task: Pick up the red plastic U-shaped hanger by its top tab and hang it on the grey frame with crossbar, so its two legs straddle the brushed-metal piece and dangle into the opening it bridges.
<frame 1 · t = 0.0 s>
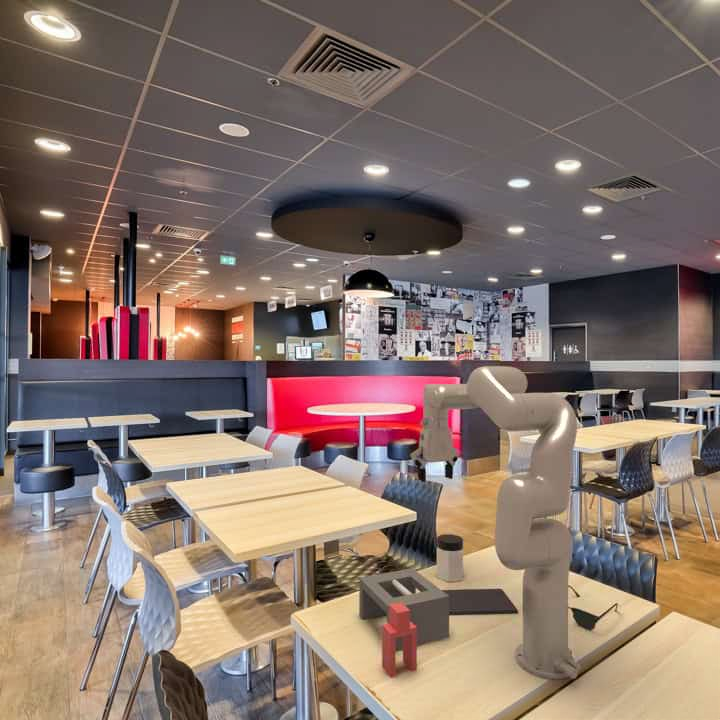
hand: (435, 479, 151), 31 cm above the table, fingers open, 9 cm apart
hanger: (399, 668, 107), on the table
notebook: (472, 605, 136), on the table
sunglasses: (582, 614, 131), on the table
jar: (450, 577, 154), on the table
grey frame with crossbar: (402, 626, 124), on the table
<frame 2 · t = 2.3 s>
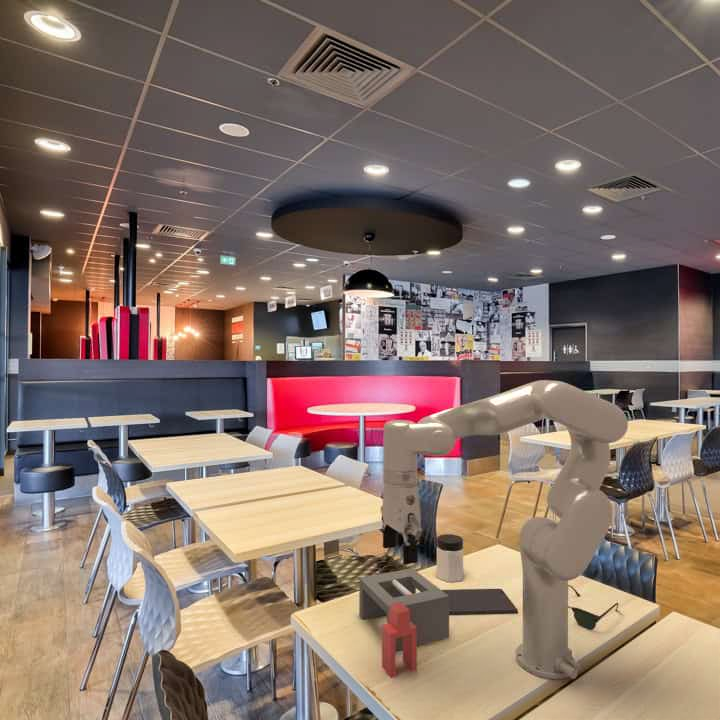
hand: (399, 554, 107), 24 cm above the table, fingers open, 9 cm apart
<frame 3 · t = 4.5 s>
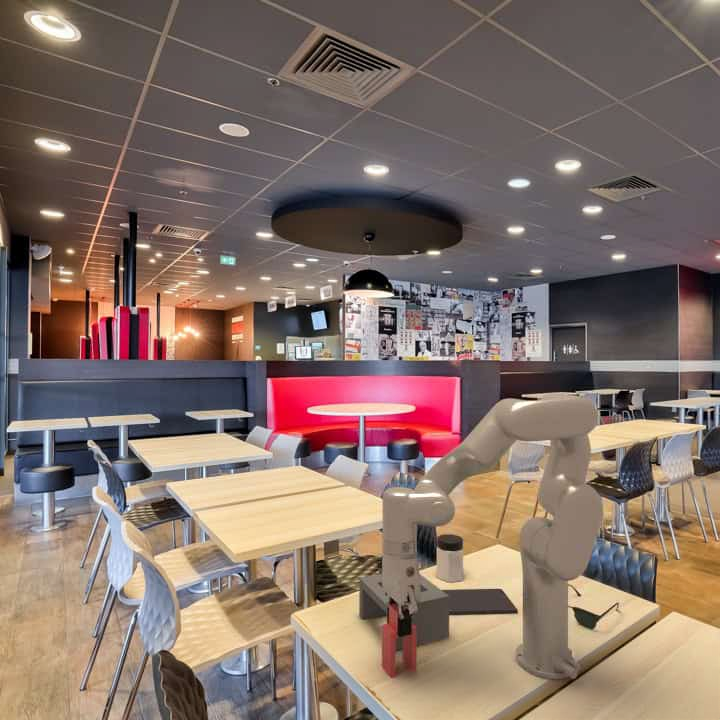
hand: (399, 628, 107), 9 cm above the table, fingers closed on hanger, 4 cm apart
hanger: (399, 668, 107), on the table, touching gripper
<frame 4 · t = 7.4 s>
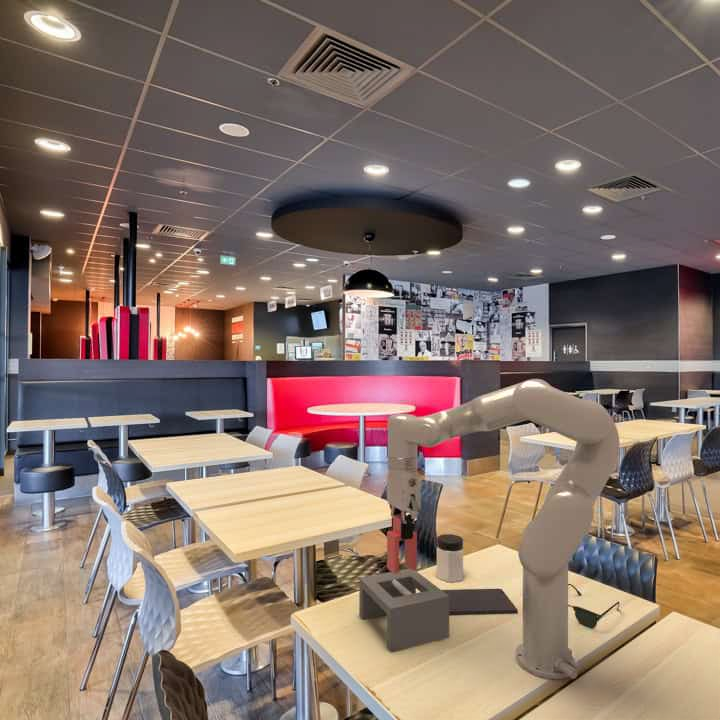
hand: (402, 534, 124), 23 cm above the table, fingers closed on hanger, 4 cm apart
hanger: (401, 568, 123), point 15 cm above the table, touching gripper
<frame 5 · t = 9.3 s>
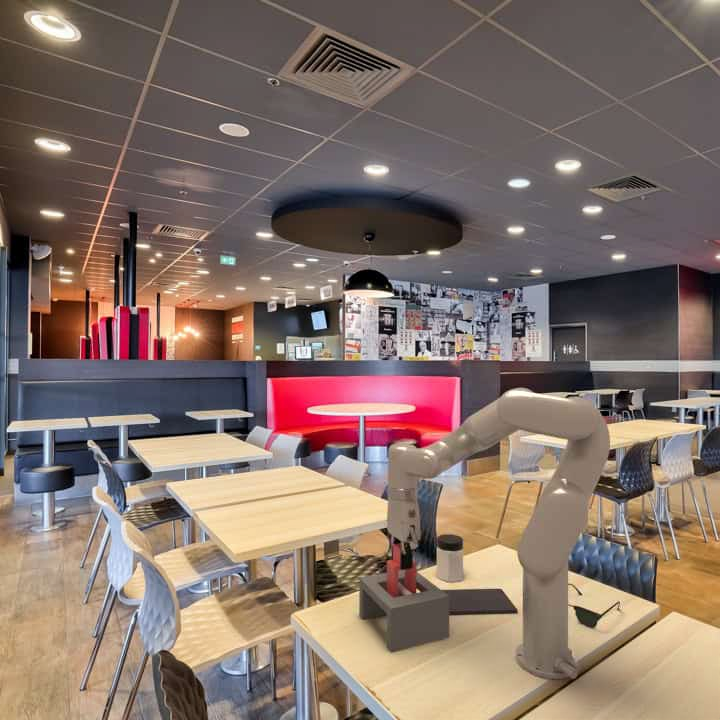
hand: (401, 564, 124), 16 cm above the table, fingers closed on hanger, 4 cm apart
hanger: (401, 598, 124), point 7 cm above the table, touching gripper
when the fingers open (12 cm above the table, at t = 10.6 s): hanger drops 1 cm, resting on grey frame with crossbar.
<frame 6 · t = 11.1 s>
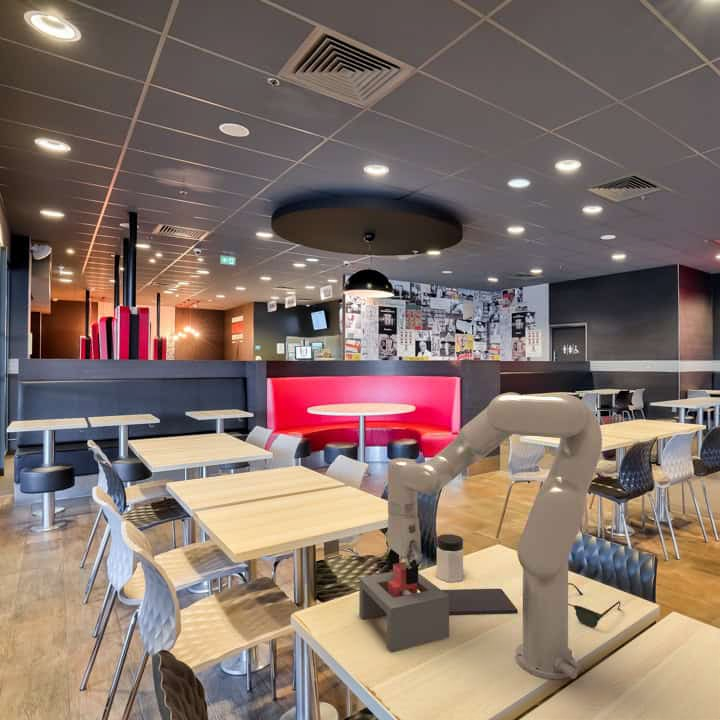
hand: (402, 575, 124), 13 cm above the table, fingers open, 9 cm apart
hanger: (402, 618, 124), point 2 cm above the table, touching grey frame with crossbar
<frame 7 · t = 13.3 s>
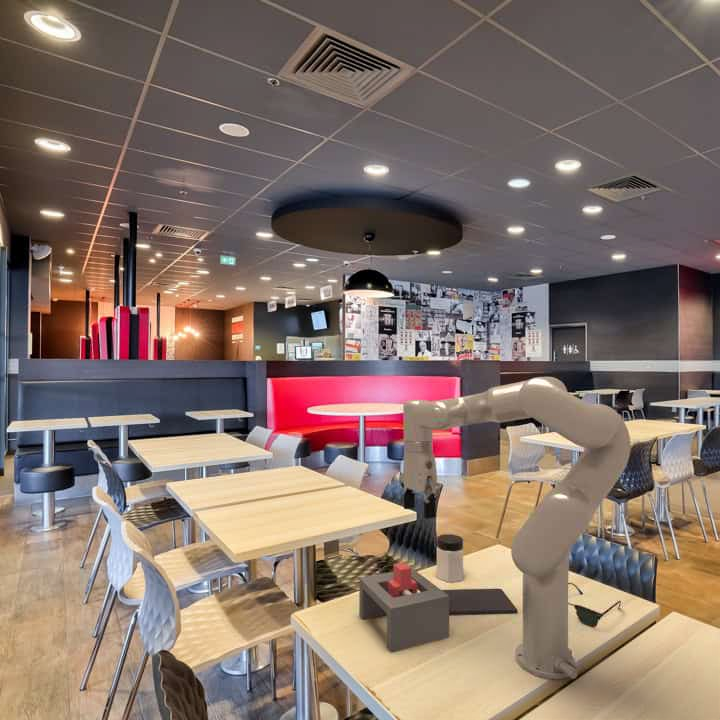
hand: (419, 512, 127), 28 cm above the table, fingers open, 9 cm apart
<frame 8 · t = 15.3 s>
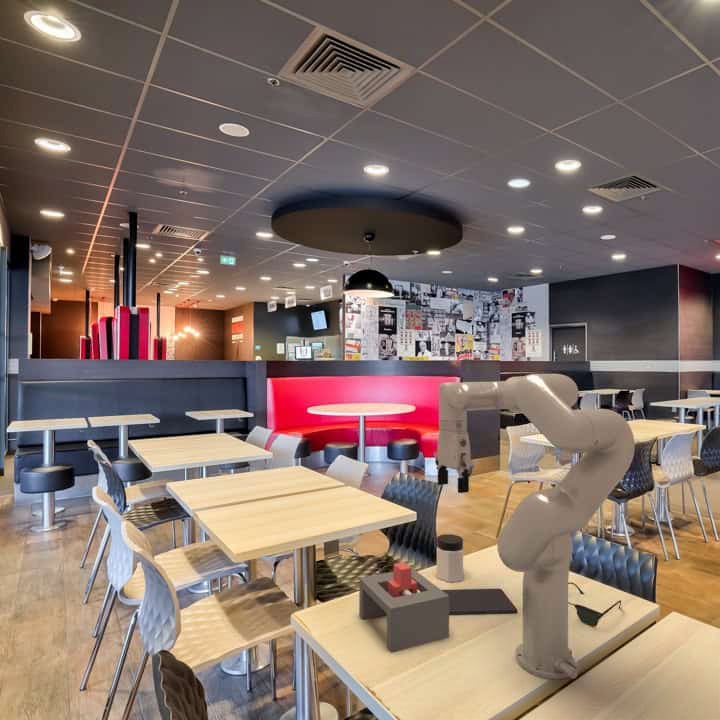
hand: (452, 488, 135), 32 cm above the table, fingers open, 9 cm apart
at the end: hanger 0.0 cm off-centre on the grey frame with crossbar, point 2.0 cm above the grey frame with crossbar's base; hanger touching grey frame with crossbar; the gripper is holding nothing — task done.
